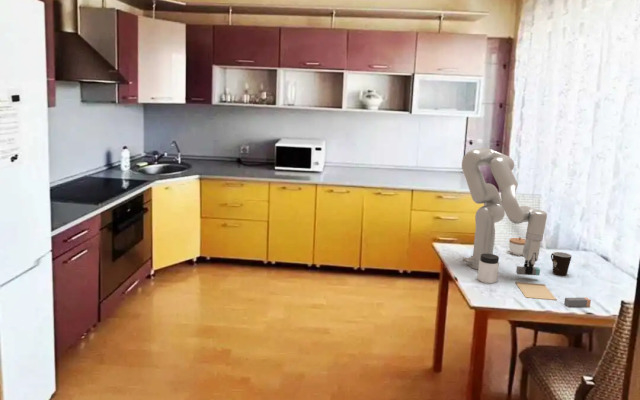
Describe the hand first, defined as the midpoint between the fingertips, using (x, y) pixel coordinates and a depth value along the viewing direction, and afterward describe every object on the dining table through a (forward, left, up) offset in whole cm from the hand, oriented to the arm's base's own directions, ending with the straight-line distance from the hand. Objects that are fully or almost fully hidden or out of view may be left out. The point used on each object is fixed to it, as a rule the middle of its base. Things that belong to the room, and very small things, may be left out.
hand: (527, 272), depth 272 cm
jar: (-20, -7, -3) cm, 21 cm away
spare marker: (+13, -31, -3) cm, 34 cm away
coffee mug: (+19, +14, -3) cm, 24 cm away
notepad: (0, -17, -3) cm, 17 cm away
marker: (0, 0, -1) cm, 1 cm away
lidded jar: (+6, +44, -3) cm, 45 cm away
